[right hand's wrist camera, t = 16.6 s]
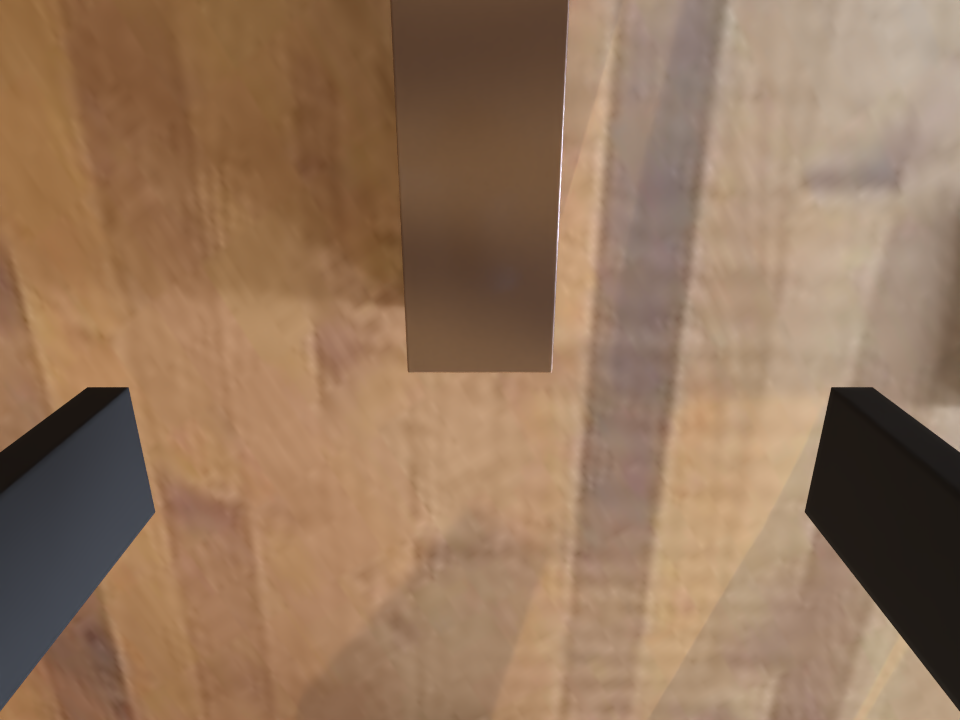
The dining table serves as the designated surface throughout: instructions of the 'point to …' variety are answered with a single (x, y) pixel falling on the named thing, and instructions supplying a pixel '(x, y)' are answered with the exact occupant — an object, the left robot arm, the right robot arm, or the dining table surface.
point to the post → (479, 179)
